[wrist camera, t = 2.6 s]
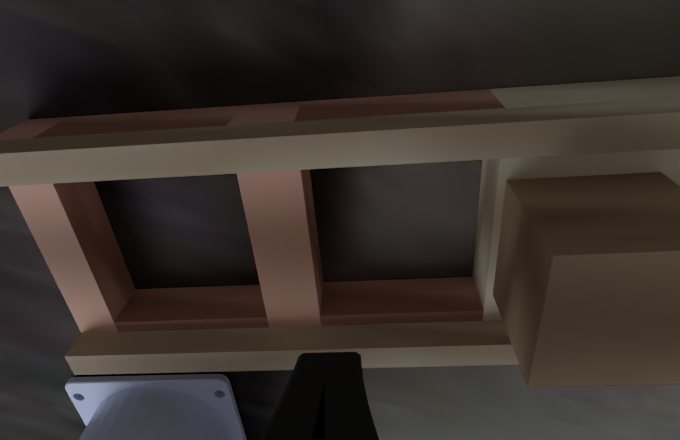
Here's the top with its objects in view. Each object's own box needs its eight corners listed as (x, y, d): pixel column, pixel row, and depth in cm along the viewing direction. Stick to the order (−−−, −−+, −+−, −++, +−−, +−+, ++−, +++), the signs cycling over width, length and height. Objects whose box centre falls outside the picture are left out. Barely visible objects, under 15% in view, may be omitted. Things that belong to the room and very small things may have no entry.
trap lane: (830, 293, 18) (922, 362, 15) (113, 316, 20) (70, 381, 17) (971, 56, 14) (1144, 88, 11) (26, 119, 16) (-52, 160, 13)
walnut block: (624, 289, 16) (697, 384, 13) (492, 294, 16) (527, 387, 13) (660, 171, 14) (761, 247, 10) (506, 179, 14) (553, 255, 11)
